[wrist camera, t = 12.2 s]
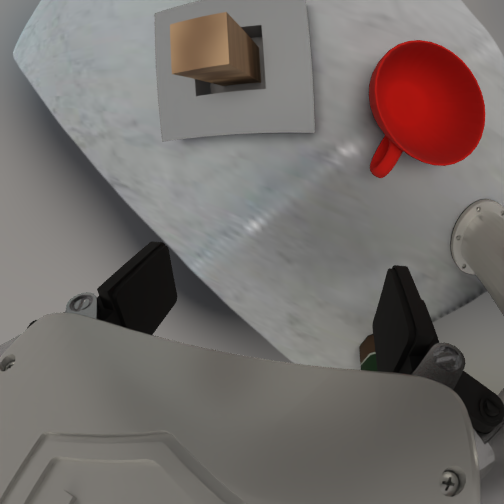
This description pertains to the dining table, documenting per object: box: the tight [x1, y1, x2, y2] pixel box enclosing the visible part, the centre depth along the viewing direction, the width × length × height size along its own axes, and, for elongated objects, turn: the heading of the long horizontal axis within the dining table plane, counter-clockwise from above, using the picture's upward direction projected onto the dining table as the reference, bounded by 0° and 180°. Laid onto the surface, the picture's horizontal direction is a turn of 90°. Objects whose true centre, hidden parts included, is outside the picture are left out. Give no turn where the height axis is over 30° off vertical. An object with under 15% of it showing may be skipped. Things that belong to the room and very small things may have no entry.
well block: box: [155, 0, 315, 142], centre depth 27 cm, size 18×18×6 cm
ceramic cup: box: [369, 40, 485, 178], centre depth 24 cm, size 13×17×10 cm
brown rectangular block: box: [170, 12, 261, 86], centre depth 23 cm, size 5×5×14 cm
